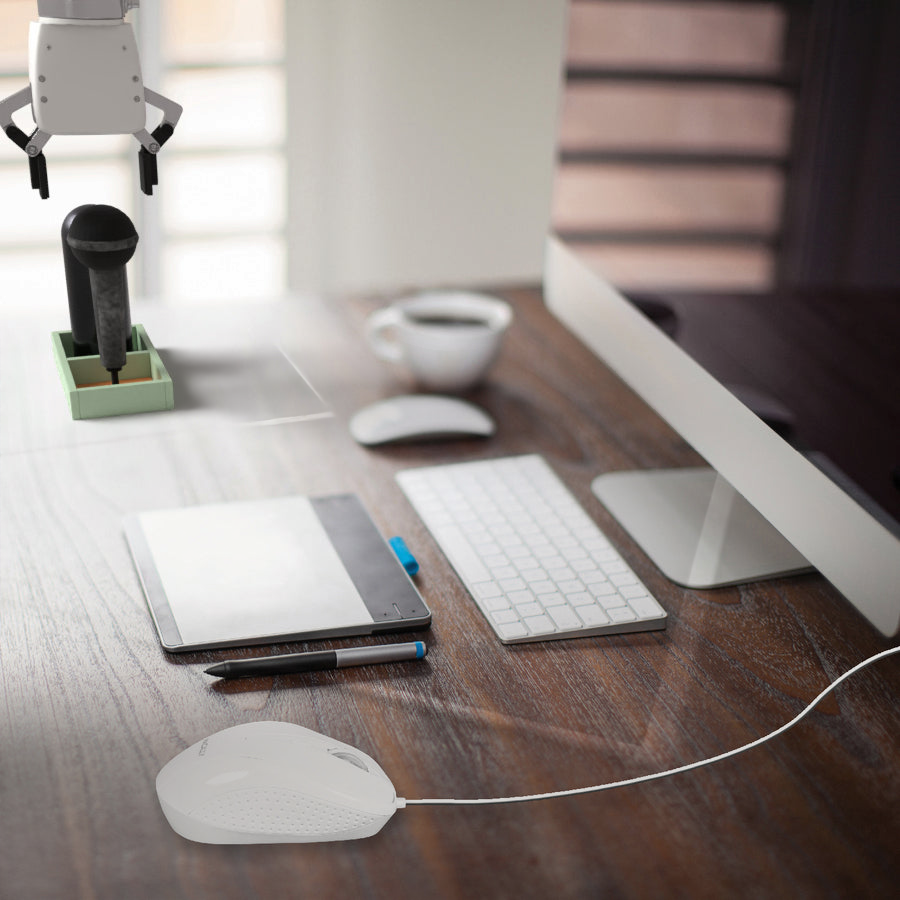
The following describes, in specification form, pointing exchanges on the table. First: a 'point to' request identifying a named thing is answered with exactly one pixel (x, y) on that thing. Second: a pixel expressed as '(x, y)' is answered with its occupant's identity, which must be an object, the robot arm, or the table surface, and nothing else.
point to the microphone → (106, 274)
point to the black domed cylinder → (86, 298)
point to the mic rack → (91, 383)
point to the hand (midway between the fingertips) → (96, 194)
